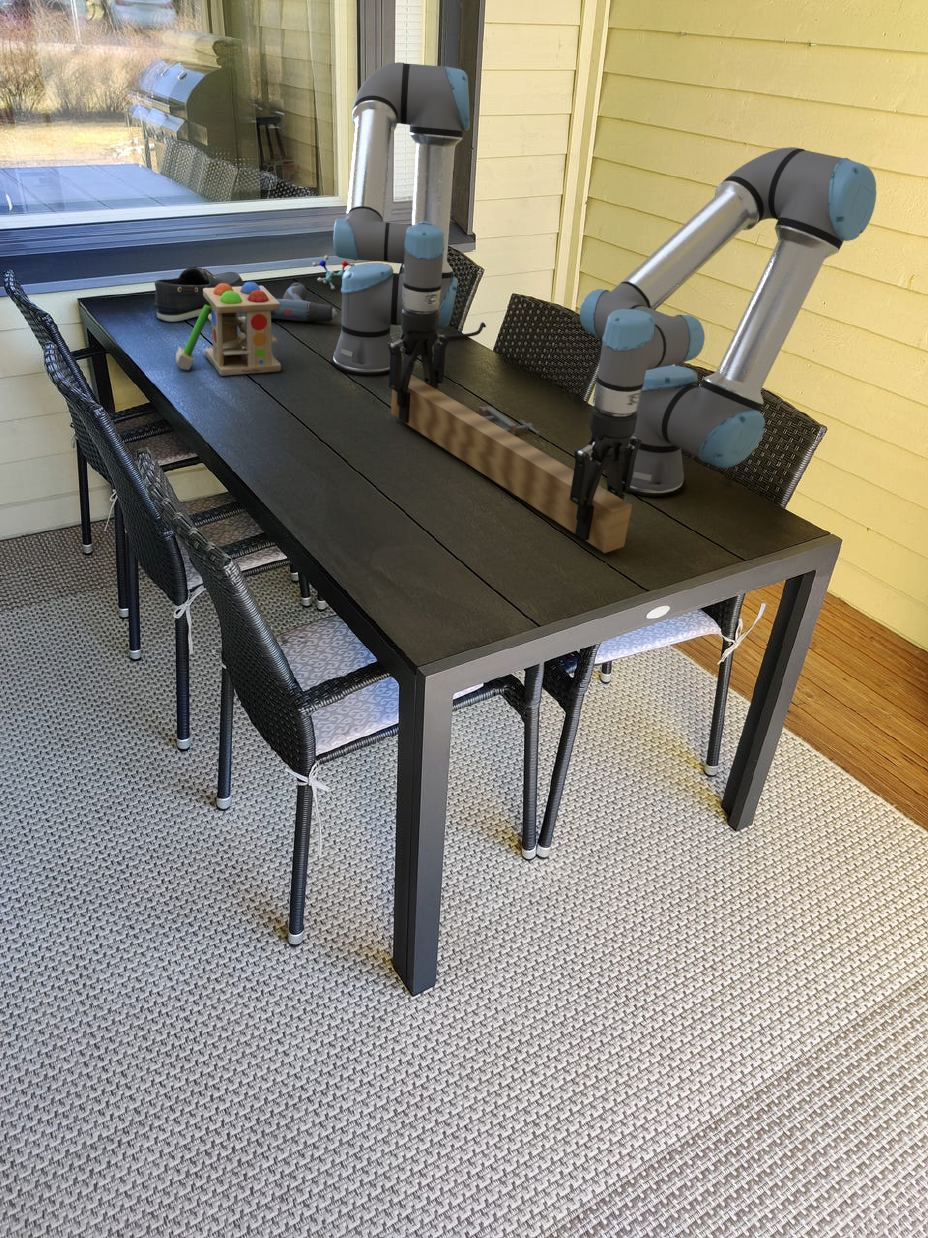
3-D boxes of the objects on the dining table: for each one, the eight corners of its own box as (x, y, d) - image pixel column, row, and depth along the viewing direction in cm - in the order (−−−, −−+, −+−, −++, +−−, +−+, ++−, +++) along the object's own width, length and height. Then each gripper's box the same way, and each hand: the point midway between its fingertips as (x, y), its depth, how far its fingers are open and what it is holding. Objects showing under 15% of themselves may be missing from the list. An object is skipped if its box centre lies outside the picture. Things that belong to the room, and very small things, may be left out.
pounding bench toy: (183, 379, 220) (176, 299, 210) (169, 357, 231) (162, 280, 221) (282, 371, 230) (280, 294, 220) (264, 350, 240) (262, 276, 230)
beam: (390, 413, 211) (392, 377, 207) (409, 410, 214) (410, 374, 209) (604, 553, 169) (612, 511, 164) (624, 546, 171) (632, 505, 167)
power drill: (344, 304, 276) (335, 327, 259) (277, 298, 275) (264, 321, 258) (344, 285, 273) (335, 306, 256) (277, 279, 272) (264, 300, 255)
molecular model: (345, 281, 281) (333, 247, 280) (317, 294, 285) (306, 260, 284) (362, 284, 292) (350, 251, 291) (335, 296, 296) (324, 263, 294)
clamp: (466, 408, 215) (505, 402, 219) (466, 417, 216) (504, 412, 220) (502, 435, 204) (542, 429, 209) (501, 445, 205) (541, 438, 210)
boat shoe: (262, 300, 274) (260, 262, 268) (174, 323, 250) (170, 282, 245) (229, 292, 279) (226, 254, 274) (139, 314, 256) (134, 273, 250)
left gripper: (393, 319, 188) (389, 432, 202) (467, 308, 198) (458, 417, 211) (372, 308, 193) (369, 419, 206) (445, 298, 203) (438, 404, 216)
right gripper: (591, 426, 153) (570, 555, 166) (669, 407, 162) (643, 530, 175) (559, 409, 158) (541, 535, 171) (637, 391, 167) (614, 512, 180)
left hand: (414, 417), depth 209 cm, fingers closed on beam, 5 cm apart
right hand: (593, 532), depth 173 cm, fingers closed on beam, 5 cm apart
